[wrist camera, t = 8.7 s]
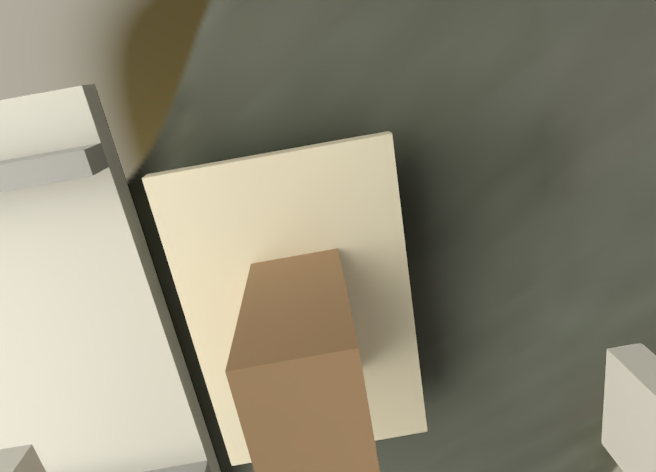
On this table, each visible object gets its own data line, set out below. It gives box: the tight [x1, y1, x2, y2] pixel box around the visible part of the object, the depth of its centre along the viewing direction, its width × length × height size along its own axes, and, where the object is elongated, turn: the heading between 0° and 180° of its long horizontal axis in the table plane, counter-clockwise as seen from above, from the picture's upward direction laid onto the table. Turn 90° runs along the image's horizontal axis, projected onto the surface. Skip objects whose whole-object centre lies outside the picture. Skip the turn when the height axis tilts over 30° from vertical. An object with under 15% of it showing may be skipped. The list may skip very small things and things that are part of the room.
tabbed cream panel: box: [142, 131, 427, 472], centre depth 14 cm, size 8×12×7 cm, turn 10°
